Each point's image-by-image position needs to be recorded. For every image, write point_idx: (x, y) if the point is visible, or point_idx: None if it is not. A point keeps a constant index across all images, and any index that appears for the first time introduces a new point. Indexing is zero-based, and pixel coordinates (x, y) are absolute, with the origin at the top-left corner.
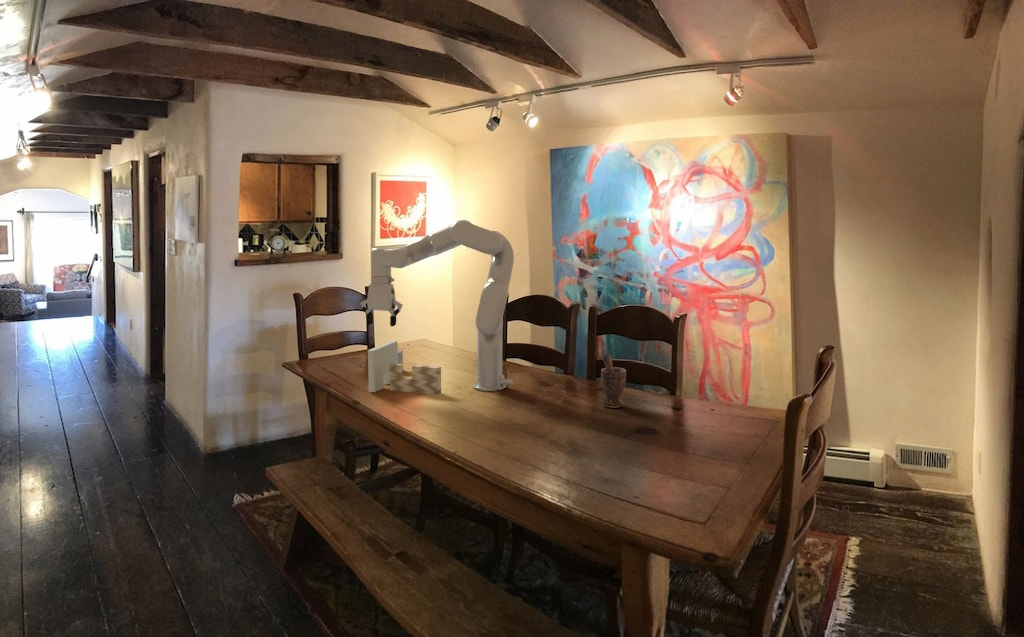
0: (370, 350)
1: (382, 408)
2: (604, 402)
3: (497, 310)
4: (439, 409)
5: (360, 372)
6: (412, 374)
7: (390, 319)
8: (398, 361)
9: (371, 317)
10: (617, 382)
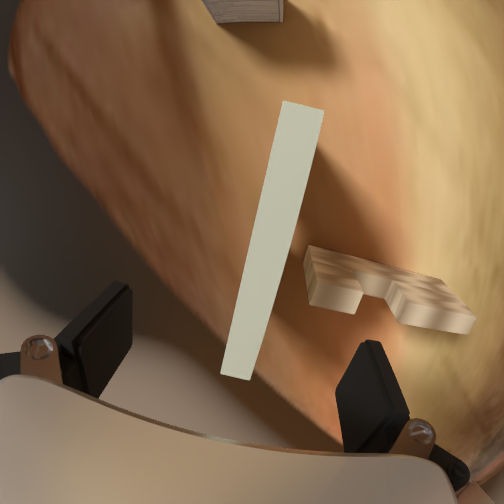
0: (233, 375)
1: (310, 396)
2: None
3: None
4: (417, 387)
5: (145, 48)
6: (389, 306)
7: (344, 436)
8: (275, 6)
9: (102, 344)
10: None
